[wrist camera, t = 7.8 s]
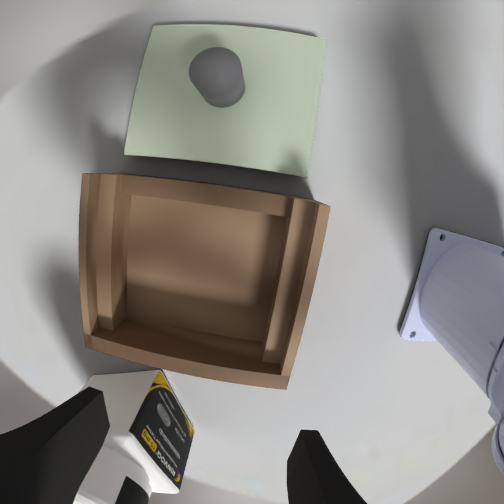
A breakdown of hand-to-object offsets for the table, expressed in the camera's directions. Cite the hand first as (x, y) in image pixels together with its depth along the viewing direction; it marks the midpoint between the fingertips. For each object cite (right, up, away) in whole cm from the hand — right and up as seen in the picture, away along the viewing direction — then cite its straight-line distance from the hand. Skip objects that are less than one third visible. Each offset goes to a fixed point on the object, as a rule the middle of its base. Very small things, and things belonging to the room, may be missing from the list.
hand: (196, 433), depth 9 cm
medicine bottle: (-7, -6, +12) cm, 15 cm away
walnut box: (-1, +6, +9) cm, 11 cm away
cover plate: (0, +16, +6) cm, 17 cm away
